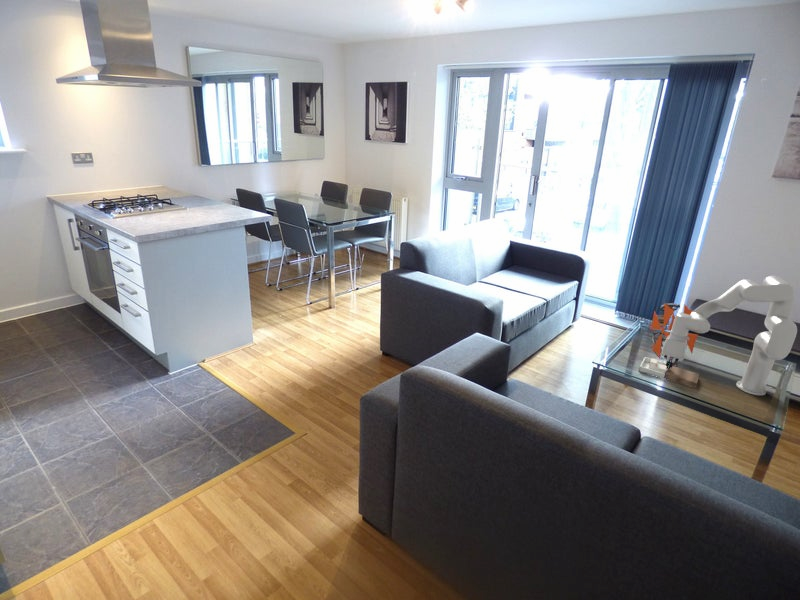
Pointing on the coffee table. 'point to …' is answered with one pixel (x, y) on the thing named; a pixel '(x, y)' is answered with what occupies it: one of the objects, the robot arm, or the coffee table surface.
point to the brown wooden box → (682, 376)
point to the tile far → (653, 364)
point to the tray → (645, 366)
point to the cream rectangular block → (660, 368)
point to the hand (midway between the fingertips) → (668, 367)
